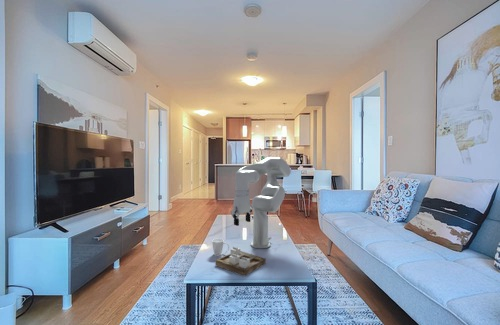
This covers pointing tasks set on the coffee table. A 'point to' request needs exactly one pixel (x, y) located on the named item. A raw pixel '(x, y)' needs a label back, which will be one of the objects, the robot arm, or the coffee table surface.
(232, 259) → the tab middle
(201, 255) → the coffee table surface
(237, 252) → the tab
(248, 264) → the tab
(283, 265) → the coffee table surface
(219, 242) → the cup
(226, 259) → the switch board
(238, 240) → the coffee table surface
